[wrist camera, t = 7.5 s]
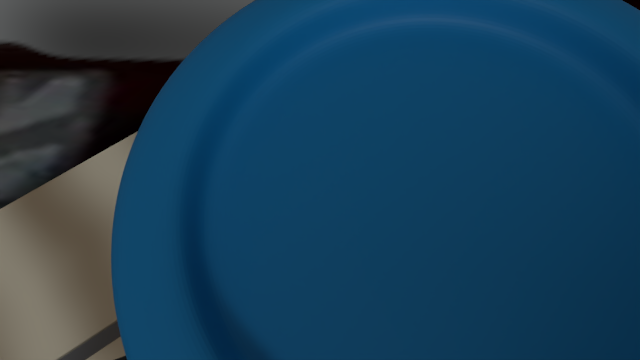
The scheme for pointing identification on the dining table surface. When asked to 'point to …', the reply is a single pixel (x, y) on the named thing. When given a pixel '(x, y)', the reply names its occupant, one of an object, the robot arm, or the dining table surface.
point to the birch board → (62, 265)
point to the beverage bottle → (389, 186)
